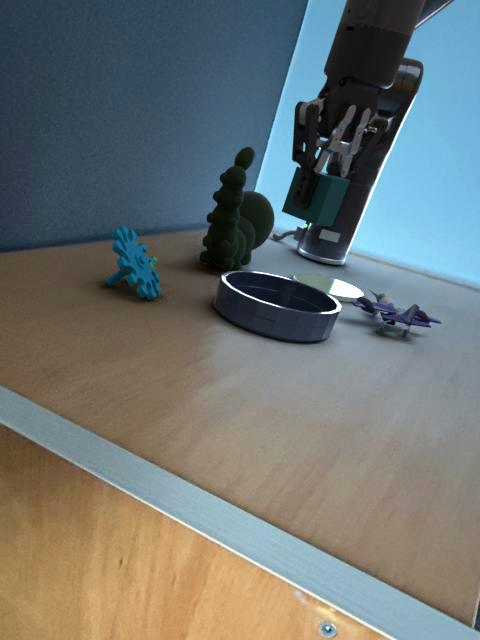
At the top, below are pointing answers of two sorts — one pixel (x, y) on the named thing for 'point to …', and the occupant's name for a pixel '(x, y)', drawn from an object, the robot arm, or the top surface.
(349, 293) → the plate
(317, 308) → the bowl
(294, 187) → the teal rectangular block
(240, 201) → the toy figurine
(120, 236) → the gear
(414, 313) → the toy airplane
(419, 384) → the top surface
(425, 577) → the top surface
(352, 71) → the robot arm
